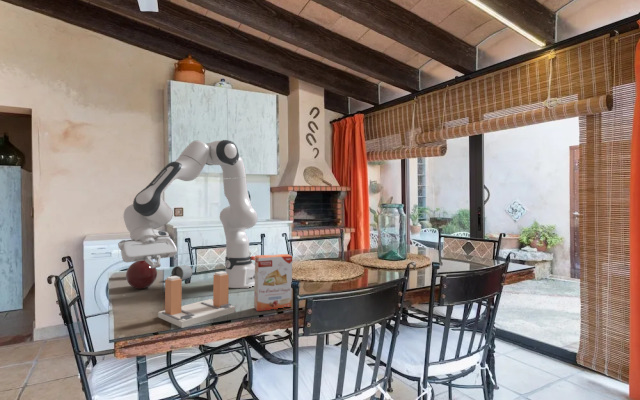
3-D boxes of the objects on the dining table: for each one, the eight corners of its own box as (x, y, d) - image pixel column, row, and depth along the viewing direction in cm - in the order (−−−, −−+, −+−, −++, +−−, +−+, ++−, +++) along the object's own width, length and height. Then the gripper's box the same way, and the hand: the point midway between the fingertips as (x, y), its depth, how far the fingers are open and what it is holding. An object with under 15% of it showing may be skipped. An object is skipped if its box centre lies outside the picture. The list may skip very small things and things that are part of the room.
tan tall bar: (222, 303, 143) (222, 271, 143) (228, 305, 140) (228, 272, 140) (213, 305, 140) (213, 272, 139) (219, 308, 137) (219, 274, 137)
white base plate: (210, 303, 149) (210, 296, 149) (235, 312, 139) (235, 304, 139) (158, 317, 132) (158, 309, 132) (182, 327, 122) (182, 318, 122)
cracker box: (257, 312, 139) (258, 257, 139) (253, 307, 145) (254, 255, 144) (292, 308, 145) (292, 255, 145) (287, 303, 150) (288, 253, 150)
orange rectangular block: (175, 310, 134) (175, 275, 134) (181, 312, 132) (181, 277, 131) (165, 312, 131) (165, 277, 131) (170, 315, 128) (171, 278, 128)
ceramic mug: (193, 278, 193) (193, 264, 193) (183, 281, 186) (183, 266, 186) (177, 277, 197) (176, 263, 197) (166, 280, 189) (166, 265, 189)
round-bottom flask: (137, 293, 163) (137, 249, 163) (119, 289, 170) (119, 246, 169) (163, 287, 175) (163, 245, 174) (145, 283, 181) (145, 243, 181)
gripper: (119, 235, 135) (131, 265, 129) (171, 232, 151) (184, 258, 145) (114, 246, 138) (125, 276, 132) (166, 241, 154) (178, 268, 148)
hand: (156, 266), depth 139 cm, fingers closed
